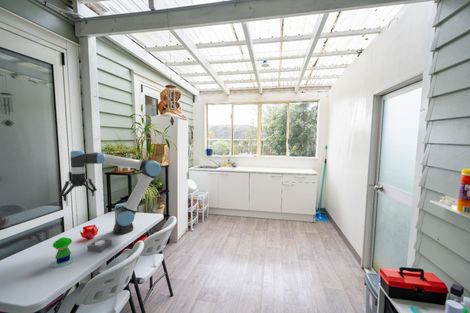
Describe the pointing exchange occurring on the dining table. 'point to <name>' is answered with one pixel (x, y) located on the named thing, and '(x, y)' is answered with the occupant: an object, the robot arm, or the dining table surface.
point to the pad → (62, 263)
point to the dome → (100, 242)
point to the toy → (62, 249)
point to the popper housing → (99, 246)
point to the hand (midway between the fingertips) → (79, 203)
